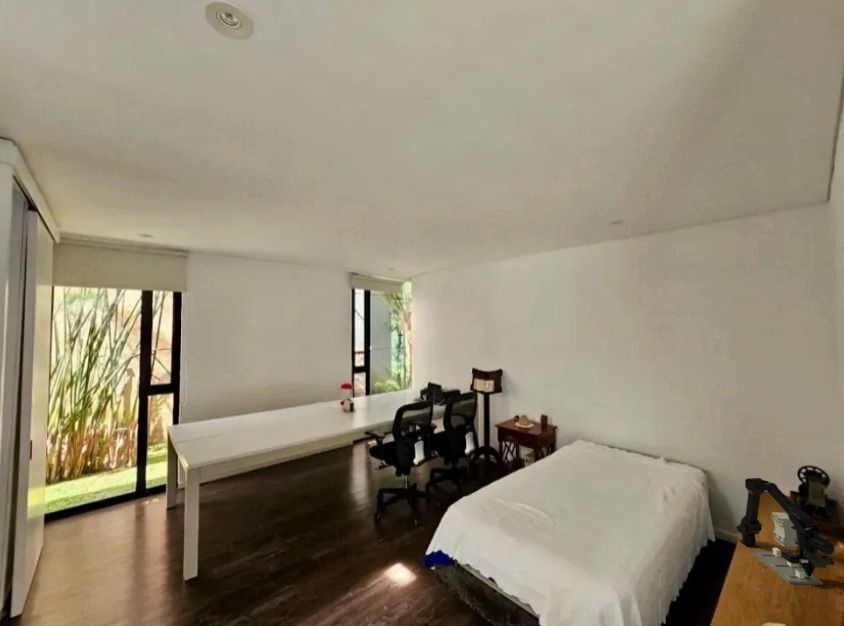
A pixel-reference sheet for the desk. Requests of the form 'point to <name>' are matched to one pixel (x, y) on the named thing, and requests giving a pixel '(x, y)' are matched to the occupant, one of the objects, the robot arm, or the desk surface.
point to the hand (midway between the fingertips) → (808, 576)
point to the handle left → (777, 552)
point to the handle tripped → (799, 573)
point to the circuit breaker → (784, 530)
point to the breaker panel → (785, 569)
